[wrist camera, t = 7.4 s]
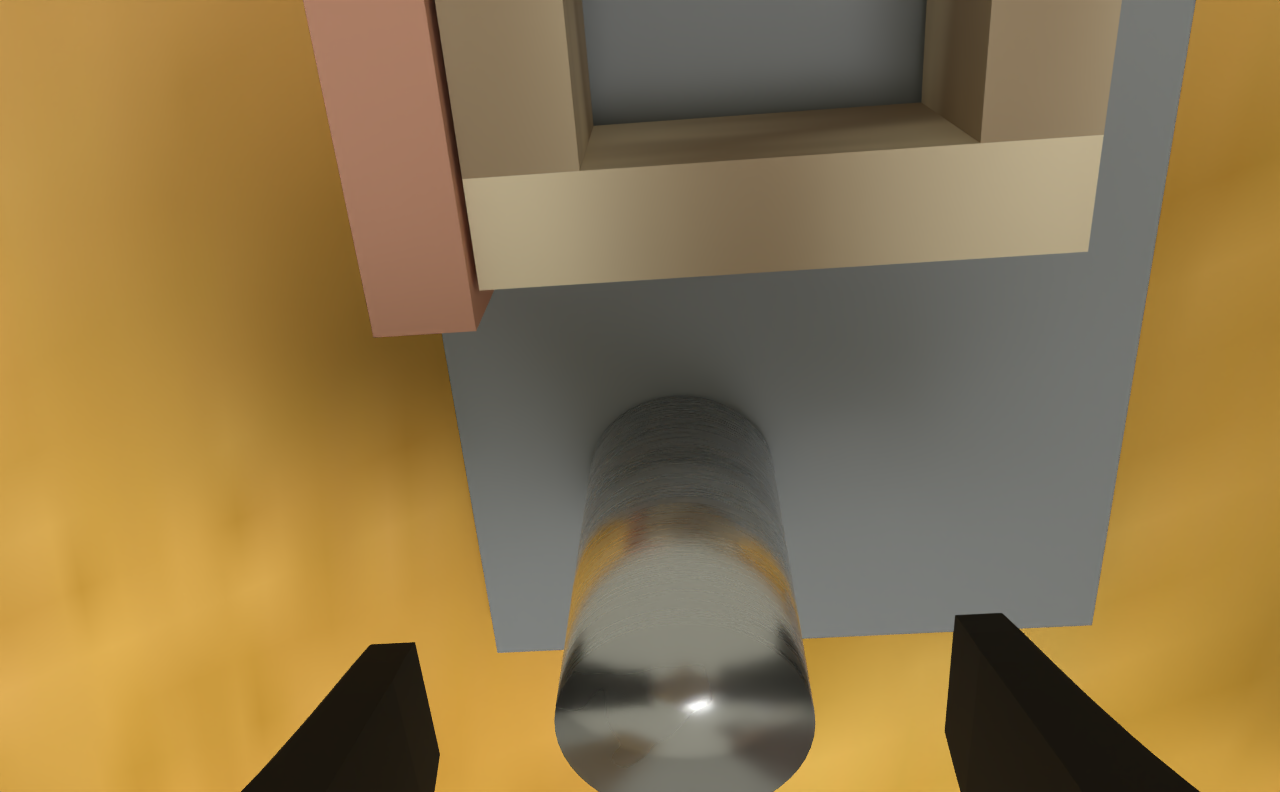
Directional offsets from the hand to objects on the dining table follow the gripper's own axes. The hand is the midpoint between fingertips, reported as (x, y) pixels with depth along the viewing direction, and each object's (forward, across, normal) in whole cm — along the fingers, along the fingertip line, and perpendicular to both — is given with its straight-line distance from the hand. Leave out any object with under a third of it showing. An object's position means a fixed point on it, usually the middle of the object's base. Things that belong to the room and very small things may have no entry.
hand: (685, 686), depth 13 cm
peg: (+6, 0, 0) cm, 6 cm away
